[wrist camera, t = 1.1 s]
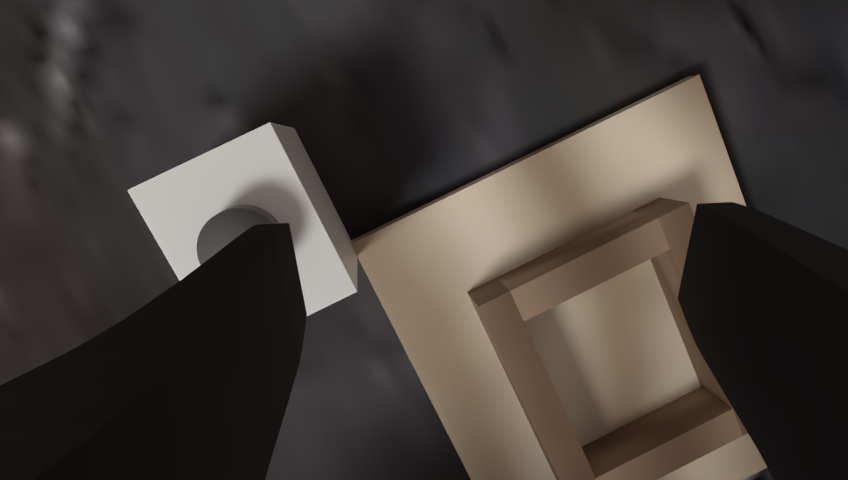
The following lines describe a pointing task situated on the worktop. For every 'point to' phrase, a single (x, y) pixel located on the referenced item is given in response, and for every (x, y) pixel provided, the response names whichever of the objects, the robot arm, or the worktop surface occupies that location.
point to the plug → (251, 210)
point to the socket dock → (571, 304)
